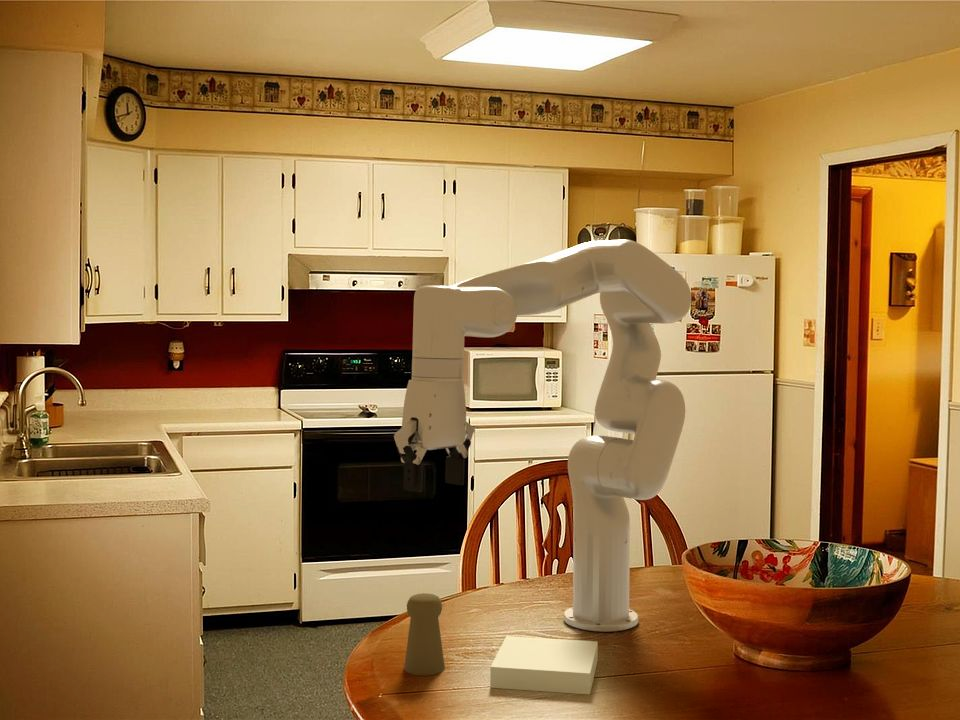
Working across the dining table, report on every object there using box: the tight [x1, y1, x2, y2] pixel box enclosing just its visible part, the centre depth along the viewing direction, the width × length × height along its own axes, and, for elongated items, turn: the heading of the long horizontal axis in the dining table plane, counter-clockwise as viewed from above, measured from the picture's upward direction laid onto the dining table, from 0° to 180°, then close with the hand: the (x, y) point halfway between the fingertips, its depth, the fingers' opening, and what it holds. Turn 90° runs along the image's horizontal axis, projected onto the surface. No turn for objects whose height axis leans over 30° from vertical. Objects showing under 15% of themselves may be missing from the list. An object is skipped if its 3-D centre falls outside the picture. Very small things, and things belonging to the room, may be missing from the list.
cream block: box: [489, 635, 599, 695], centre depth 156 cm, size 14×14×3 cm
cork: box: [403, 593, 446, 676], centre depth 158 cm, size 6×6×11 cm
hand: (434, 487), depth 156 cm, fingers open, 9 cm apart
